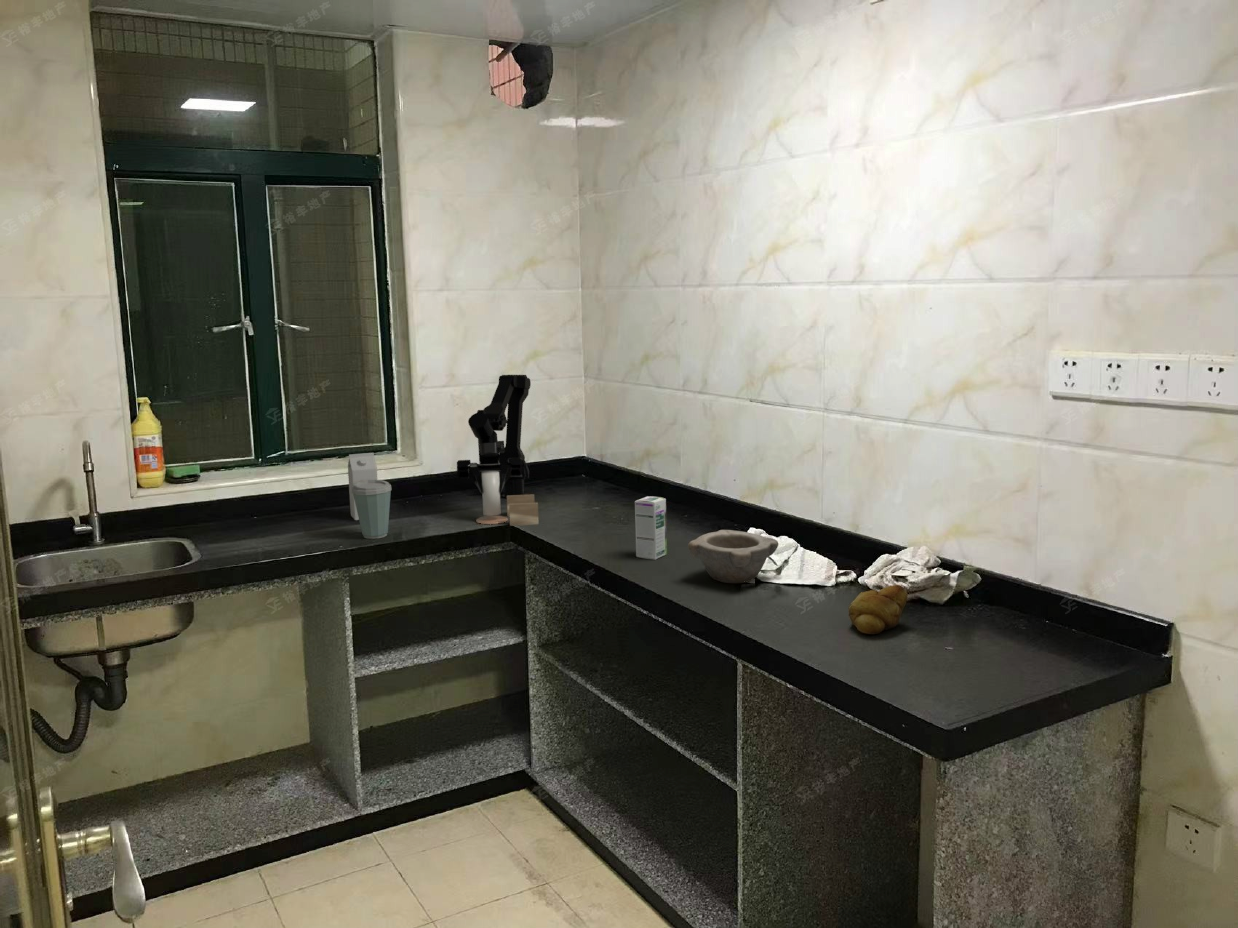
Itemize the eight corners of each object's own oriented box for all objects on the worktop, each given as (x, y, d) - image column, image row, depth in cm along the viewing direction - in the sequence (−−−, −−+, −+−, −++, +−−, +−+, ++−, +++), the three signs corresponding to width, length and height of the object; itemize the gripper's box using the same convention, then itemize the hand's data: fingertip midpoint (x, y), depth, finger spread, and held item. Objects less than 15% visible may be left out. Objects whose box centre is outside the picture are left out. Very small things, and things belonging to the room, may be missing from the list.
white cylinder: (490, 510, 284) (489, 470, 282) (504, 512, 282) (502, 472, 280) (479, 514, 280) (477, 473, 278) (492, 516, 278) (491, 474, 275)
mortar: (741, 594, 211) (742, 553, 209) (680, 579, 222) (680, 540, 220) (784, 577, 223) (785, 538, 221) (724, 563, 234) (725, 526, 233)
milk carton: (350, 516, 290) (346, 452, 287) (374, 513, 293) (371, 450, 290) (355, 520, 284) (351, 456, 281) (379, 518, 287) (376, 454, 283)
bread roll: (882, 642, 181) (883, 600, 180) (834, 631, 187) (835, 591, 186) (910, 623, 191) (911, 583, 190) (863, 613, 197) (865, 575, 196)
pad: (490, 516, 287) (490, 514, 287) (514, 519, 283) (514, 518, 283) (469, 522, 280) (469, 520, 280) (493, 526, 275) (493, 524, 275)
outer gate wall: (509, 524, 277) (509, 503, 276) (538, 523, 279) (537, 502, 278) (510, 525, 276) (509, 504, 275) (538, 524, 277) (537, 503, 276)
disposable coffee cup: (403, 534, 267) (400, 480, 264) (373, 543, 258) (370, 487, 255) (375, 529, 273) (372, 477, 270) (345, 538, 264) (342, 483, 261)
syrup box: (655, 560, 238) (655, 501, 236) (634, 557, 241) (634, 499, 239) (667, 554, 243) (667, 497, 240) (646, 551, 246) (646, 495, 243)
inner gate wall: (507, 515, 289) (506, 495, 288) (534, 514, 290) (533, 494, 289) (507, 516, 287) (507, 496, 286) (534, 515, 288) (534, 495, 287)
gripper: (455, 432, 279) (457, 477, 270) (520, 430, 282) (525, 474, 274) (456, 455, 288) (458, 499, 279) (519, 452, 291) (523, 496, 283)
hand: (491, 492), depth 279 cm, fingers closed on white cylinder, 5 cm apart
